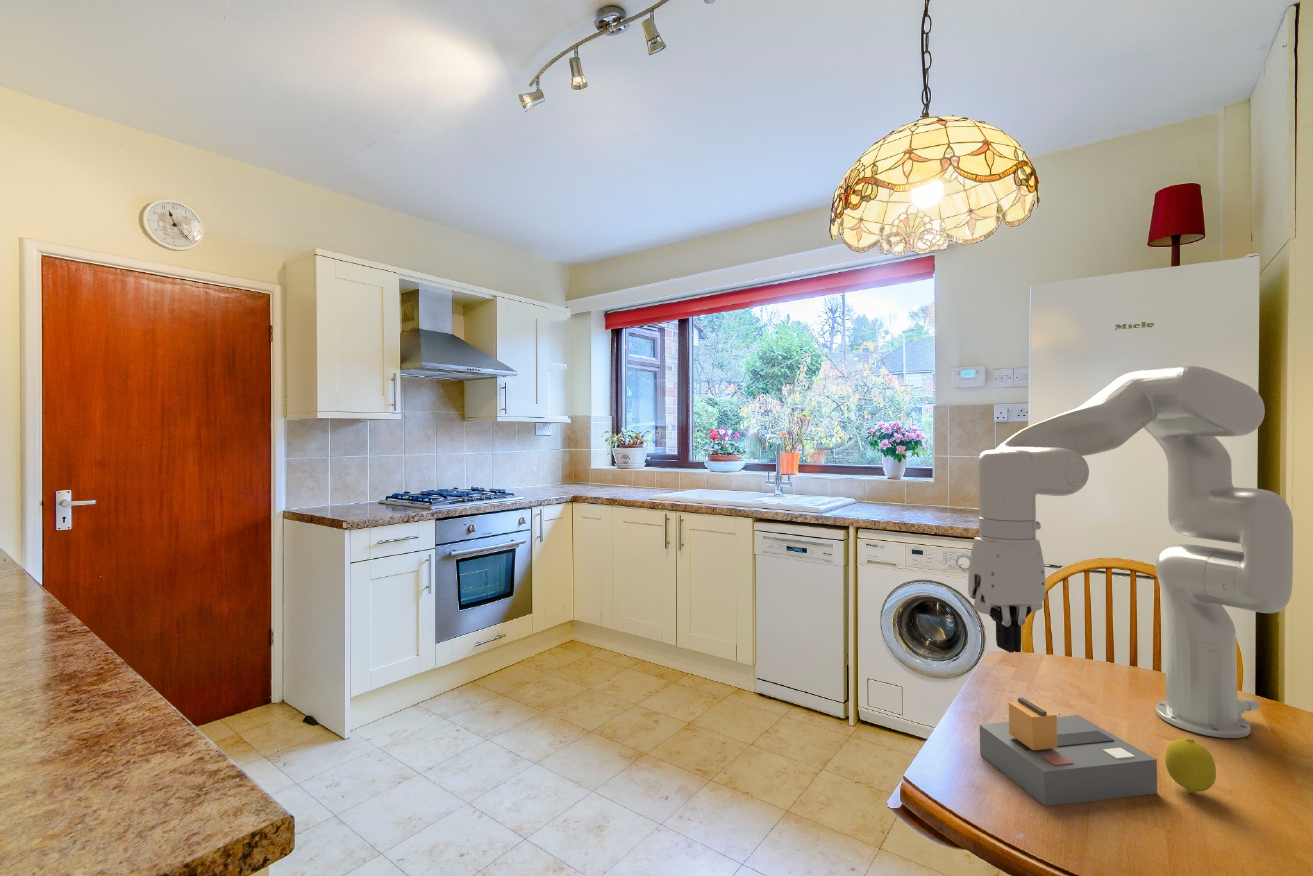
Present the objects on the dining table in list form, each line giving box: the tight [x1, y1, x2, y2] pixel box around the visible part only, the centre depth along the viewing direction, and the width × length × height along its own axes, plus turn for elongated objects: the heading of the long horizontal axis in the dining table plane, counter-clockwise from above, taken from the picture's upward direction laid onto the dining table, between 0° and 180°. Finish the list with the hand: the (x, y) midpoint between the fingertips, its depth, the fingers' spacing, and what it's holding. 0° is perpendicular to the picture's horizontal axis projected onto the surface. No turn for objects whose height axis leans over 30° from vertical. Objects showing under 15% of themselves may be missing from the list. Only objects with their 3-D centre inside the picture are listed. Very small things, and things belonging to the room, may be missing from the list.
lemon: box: [1164, 737, 1217, 794], centre depth 88 cm, size 6×6×8 cm
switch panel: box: [979, 714, 1158, 807], centre depth 94 cm, size 18×14×5 cm
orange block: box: [1008, 696, 1058, 750], centre depth 93 cm, size 4×5×6 cm
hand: (1008, 649), depth 92 cm, fingers closed
